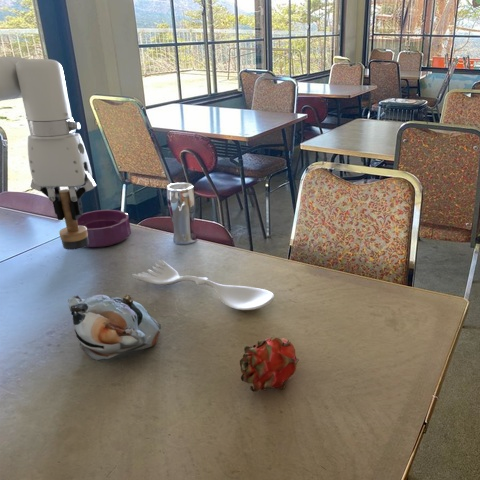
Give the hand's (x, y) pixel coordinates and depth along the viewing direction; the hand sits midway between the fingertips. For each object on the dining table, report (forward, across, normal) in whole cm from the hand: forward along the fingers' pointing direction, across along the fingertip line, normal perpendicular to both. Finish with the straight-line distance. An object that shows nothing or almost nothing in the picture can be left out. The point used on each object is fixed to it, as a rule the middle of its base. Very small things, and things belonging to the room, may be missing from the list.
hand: (70, 217), depth 99 cm
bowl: (+16, +5, -25) cm, 30 cm away
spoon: (+16, -27, +4) cm, 32 cm away
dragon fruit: (+16, -43, +32) cm, 56 cm away
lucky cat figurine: (+16, -16, +23) cm, 32 cm away
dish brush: (+6, 0, 0) cm, 6 cm away
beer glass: (+16, -17, -24) cm, 33 cm away
